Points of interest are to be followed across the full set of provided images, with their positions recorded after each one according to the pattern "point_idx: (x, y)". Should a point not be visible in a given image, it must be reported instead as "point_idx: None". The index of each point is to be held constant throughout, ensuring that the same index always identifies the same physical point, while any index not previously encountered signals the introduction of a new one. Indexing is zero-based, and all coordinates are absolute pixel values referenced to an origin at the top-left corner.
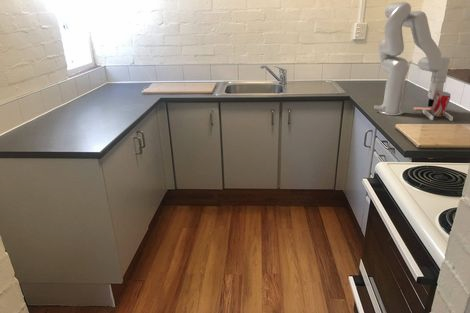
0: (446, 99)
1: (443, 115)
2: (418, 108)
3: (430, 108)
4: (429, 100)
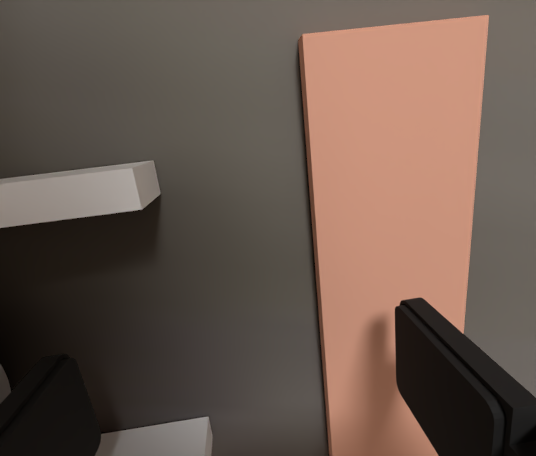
0: None
1: None
2: (376, 111)
3: None
4: (494, 413)
